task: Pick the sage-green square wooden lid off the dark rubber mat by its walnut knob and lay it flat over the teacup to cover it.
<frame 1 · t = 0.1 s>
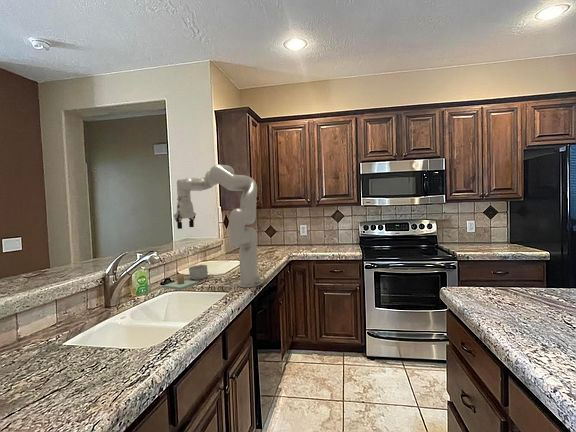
hand: (185, 227, 201), 31 cm above the countertop, tool pointing down, fingers open, 9 cm apart
lid: (181, 284, 186), point 1 cm above the countertop, touching mat
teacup: (199, 279, 201), on the countertop
mat: (181, 285, 186), on the countertop
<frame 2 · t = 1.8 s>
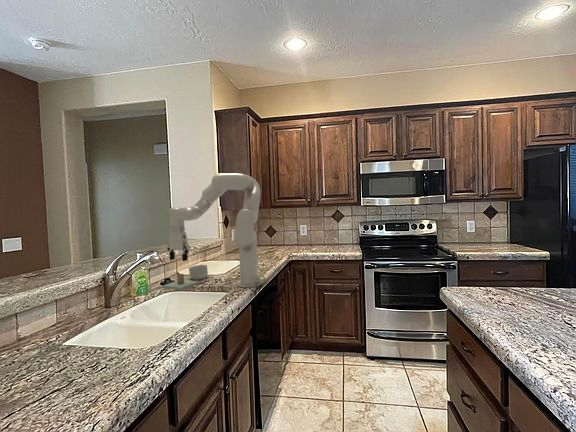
hand: (178, 260, 185), 15 cm above the countertop, tool pointing down, fingers open, 9 cm apart
nothing on the countertop moved.
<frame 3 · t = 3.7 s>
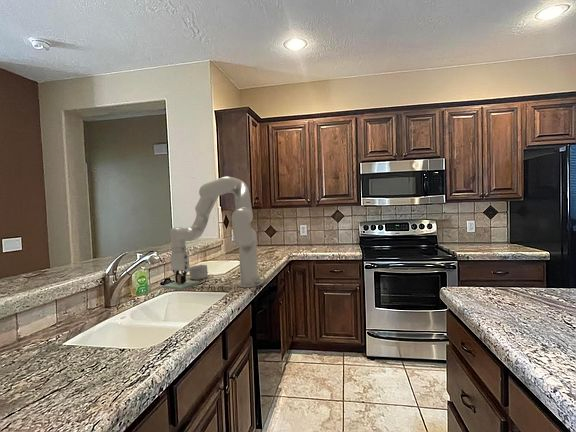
hand: (180, 281, 185), 2 cm above the countertop, tool pointing down, fingers closed on lid, 3 cm apart
lid: (181, 284, 186), point 1 cm above the countertop, touching gripper, mat
everything else where it was.
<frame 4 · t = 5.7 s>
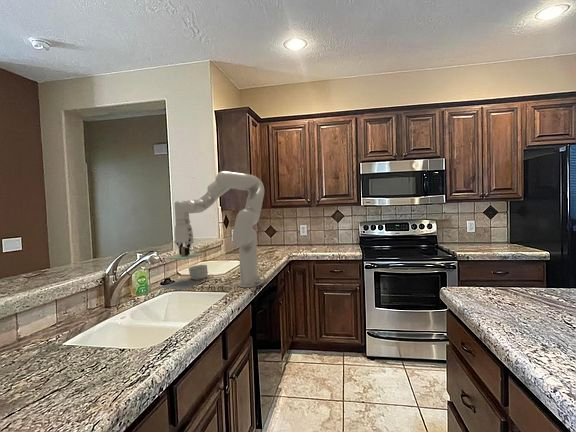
hand: (184, 254, 189), 17 cm above the countertop, tool pointing down, fingers closed on lid, 3 cm apart
lid: (184, 257, 189), point 15 cm above the countertop, touching gripper
everything else where it was.
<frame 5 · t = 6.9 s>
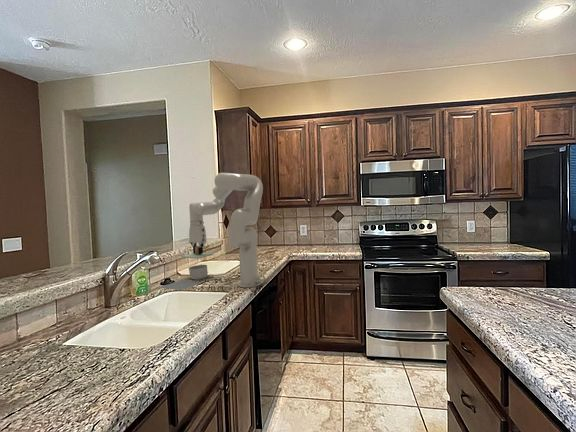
hand: (198, 253, 201), 16 cm above the countertop, tool pointing down, fingers closed on lid, 3 cm apart
lid: (198, 256, 201), point 14 cm above the countertop, touching gripper
everything else where it was.
when the fingers open (11 cm above the countertop, at t = 7.9 s): lid drops 1 cm, resting on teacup.
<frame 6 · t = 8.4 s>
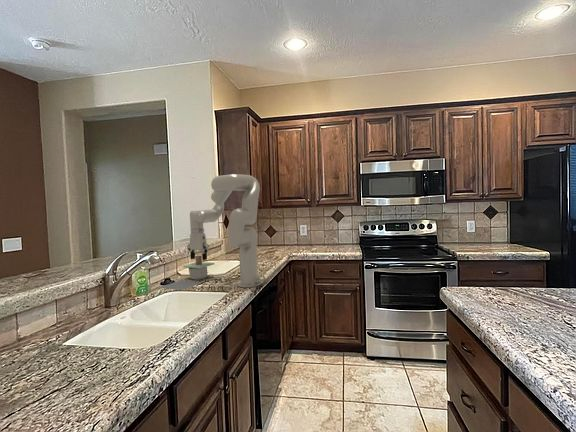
hand: (198, 259, 201), 12 cm above the countertop, tool pointing down, fingers open, 9 cm apart
lid: (198, 265, 201), point 8 cm above the countertop, touching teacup
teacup: (199, 279, 201), on the countertop, touching lid
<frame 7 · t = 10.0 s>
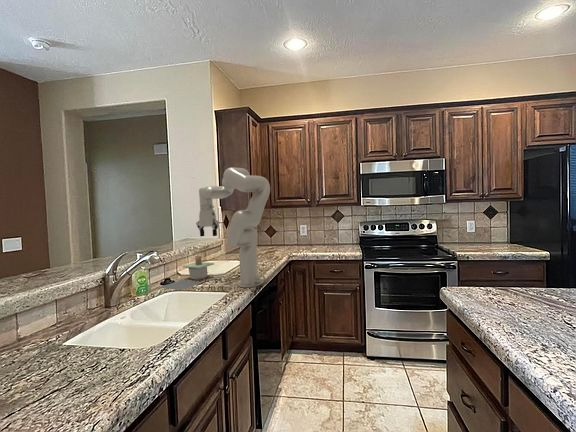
hand: (208, 236, 202), 26 cm above the countertop, tool pointing down, fingers open, 9 cm apart
nothing on the countertop moved.
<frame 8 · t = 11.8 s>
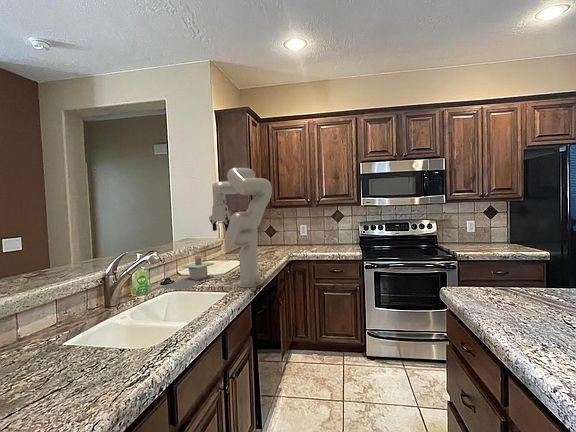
hand: (221, 230, 204), 28 cm above the countertop, tool pointing down, fingers open, 9 cm apart
nothing on the countertop moved.
at the end: lid 0.3 cm from the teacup (horizontally); lid point 7.9 cm above the countertop; lid tilted 0° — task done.
